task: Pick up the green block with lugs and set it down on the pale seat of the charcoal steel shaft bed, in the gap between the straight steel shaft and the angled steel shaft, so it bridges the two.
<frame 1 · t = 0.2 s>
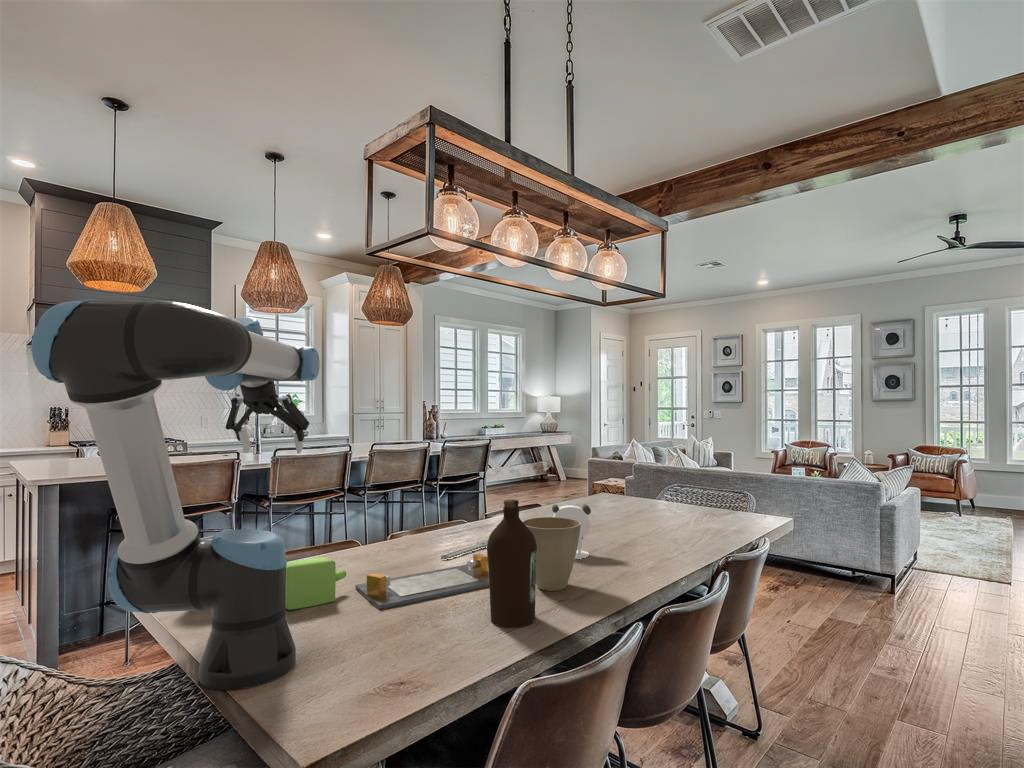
hand: (274, 450, 144), 35 cm above the table, tool tilted 35°, fingers open, 13 cm apart
plant pot: (552, 587, 138), on the table
olive oil: (513, 620, 117), on the table
panda figurine: (571, 555, 168), on the table
shaft bed: (430, 586, 140), on the table
disposable coffee cup: (214, 600, 132), on the table
adjustable wrench: (469, 552, 175), on the table
green block with lugs: (309, 601, 131), on the table
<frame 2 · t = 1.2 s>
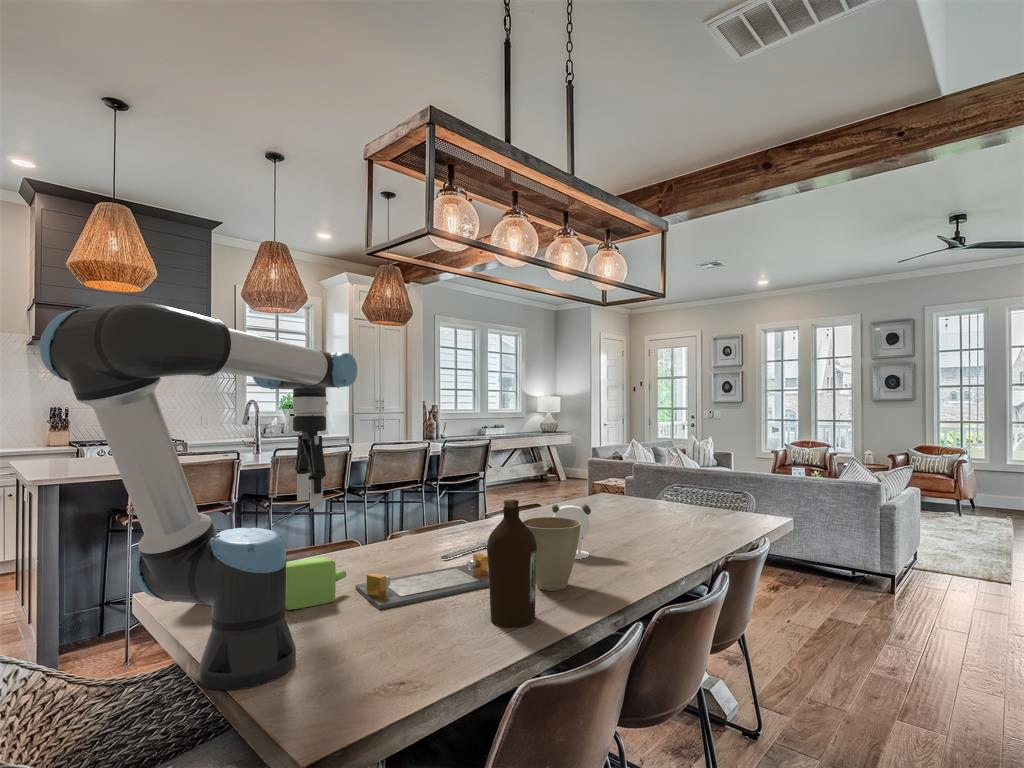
hand: (309, 504, 132), 23 cm above the table, tool pointing down, fingers open, 13 cm apart
nothing on the table moved.
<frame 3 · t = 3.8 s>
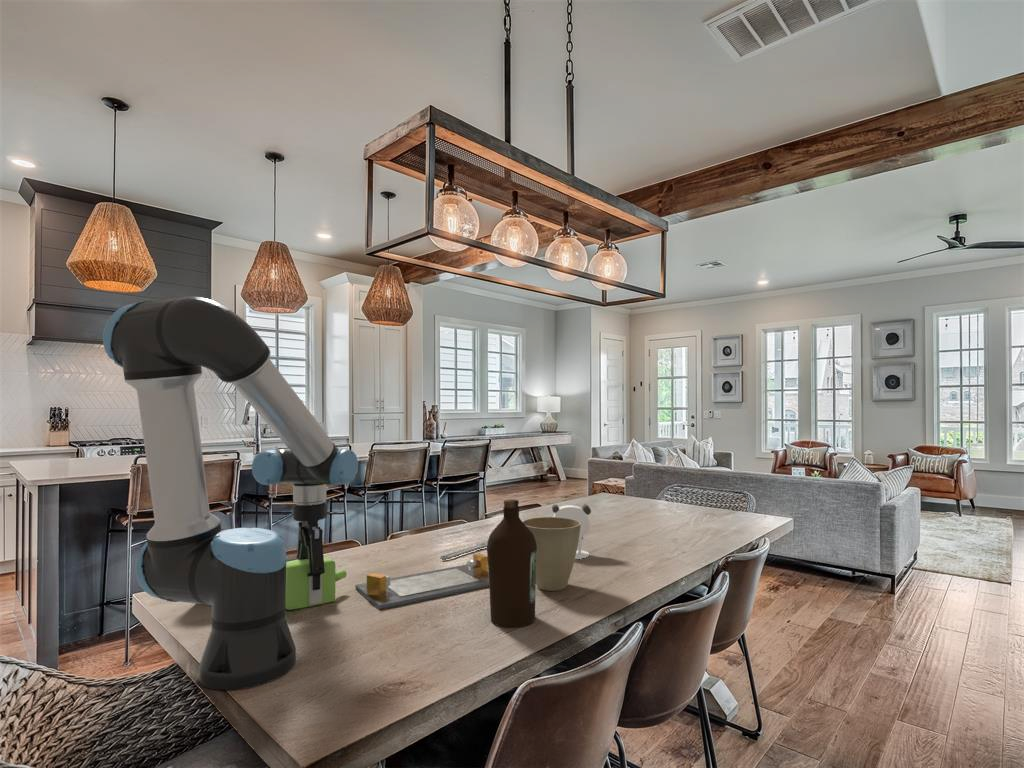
hand: (309, 596, 131), 1 cm above the table, tool pointing down, fingers closed on green block with lugs, 10 cm apart
green block with lugs: (309, 601, 131), on the table, touching gripper
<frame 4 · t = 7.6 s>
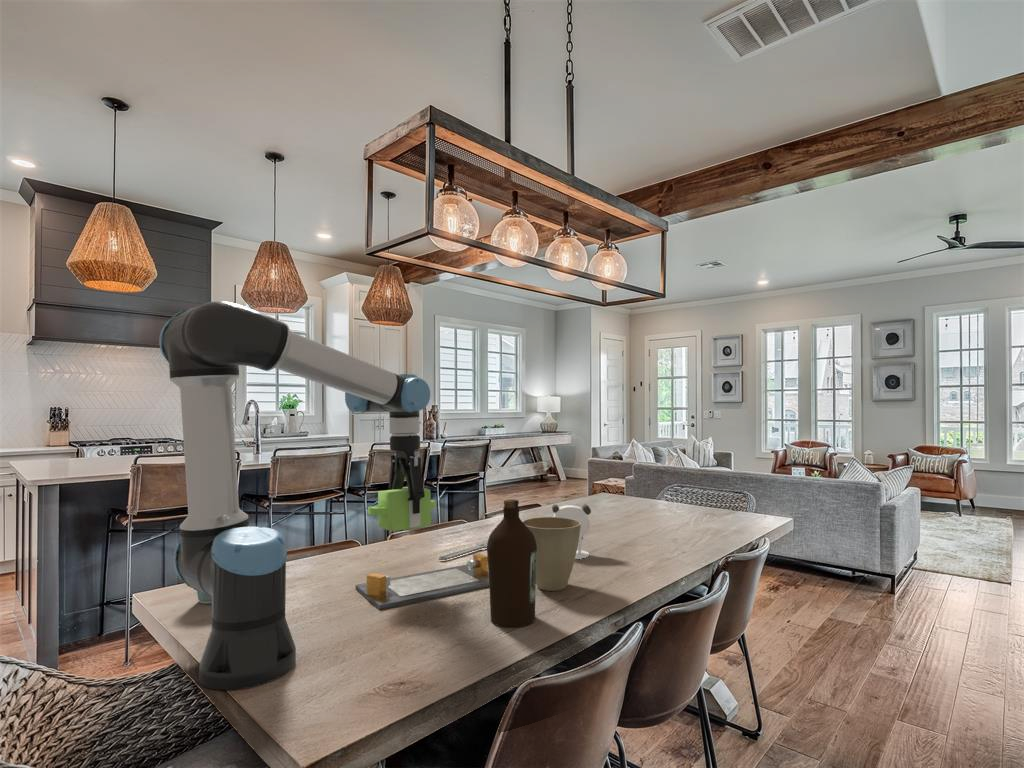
hand: (406, 523, 139), 16 cm above the table, tool pointing down, fingers closed on green block with lugs, 10 cm apart
green block with lugs: (406, 527, 139), point 15 cm above the table, touching gripper
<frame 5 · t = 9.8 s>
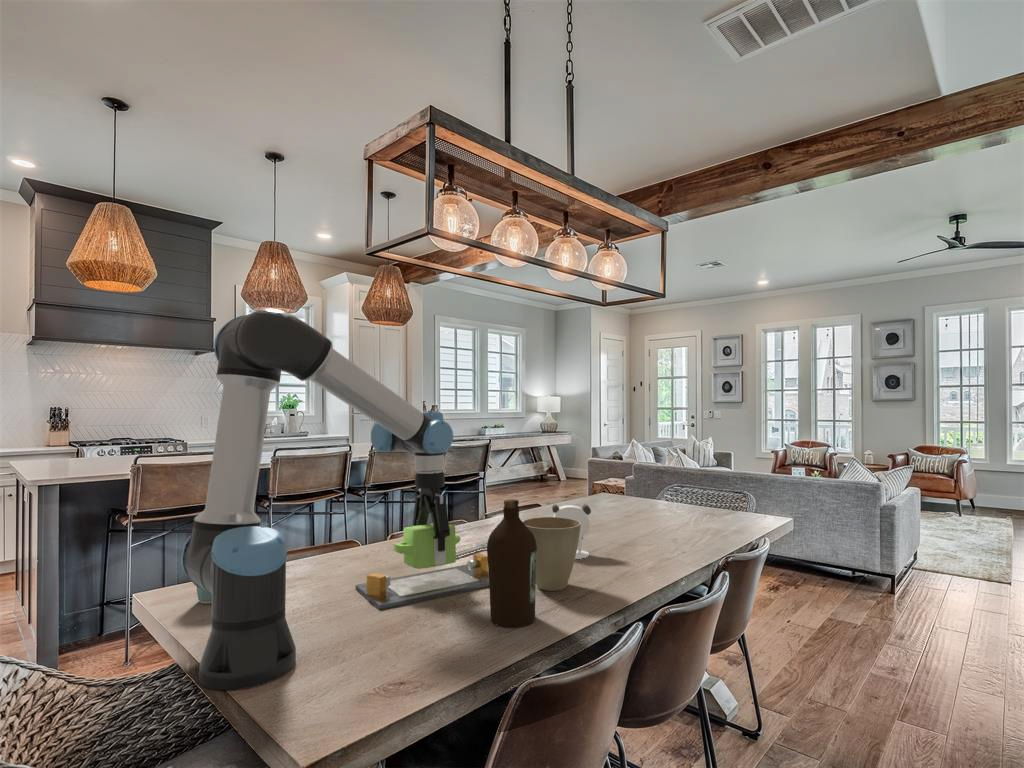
hand: (430, 559, 140), 7 cm above the table, tool pointing down, fingers closed on green block with lugs, 10 cm apart
green block with lugs: (431, 563, 140), point 6 cm above the table, touching gripper
when the fingers open (3 cm above the table, at t = 11.4 s): green block with lugs drops 1 cm, resting on shaft bed.
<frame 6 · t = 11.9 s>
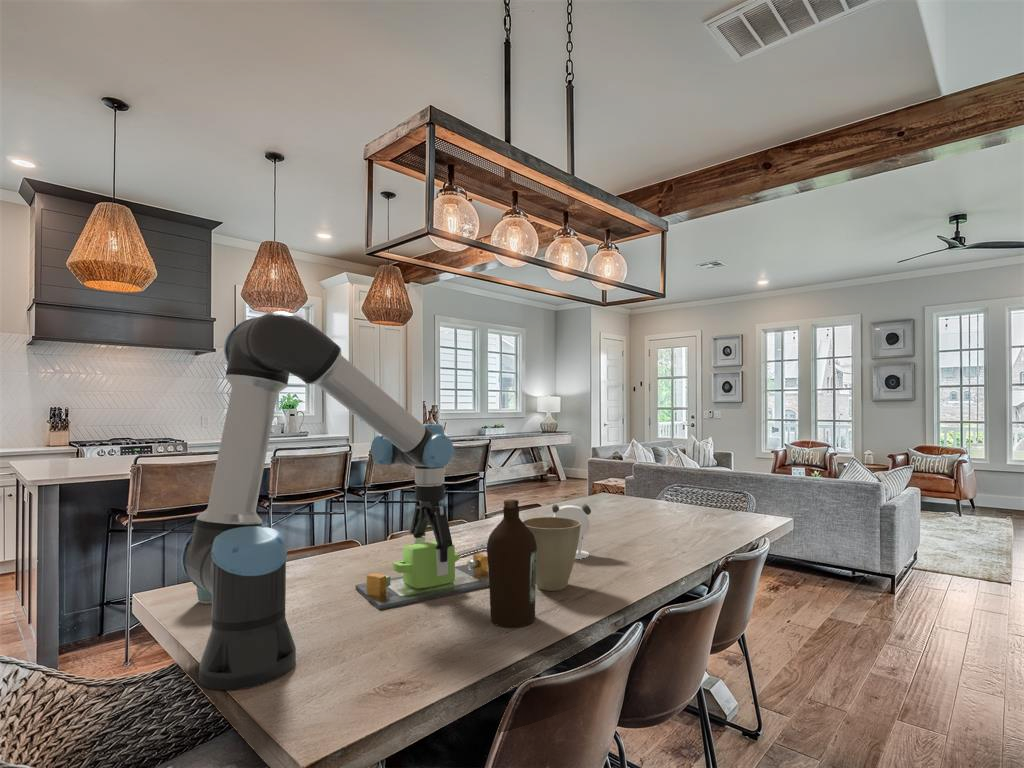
hand: (430, 568, 140), 4 cm above the table, tool pointing down, fingers open, 13 cm apart
green block with lugs: (430, 581, 140), point 1 cm above the table, touching shaft bed
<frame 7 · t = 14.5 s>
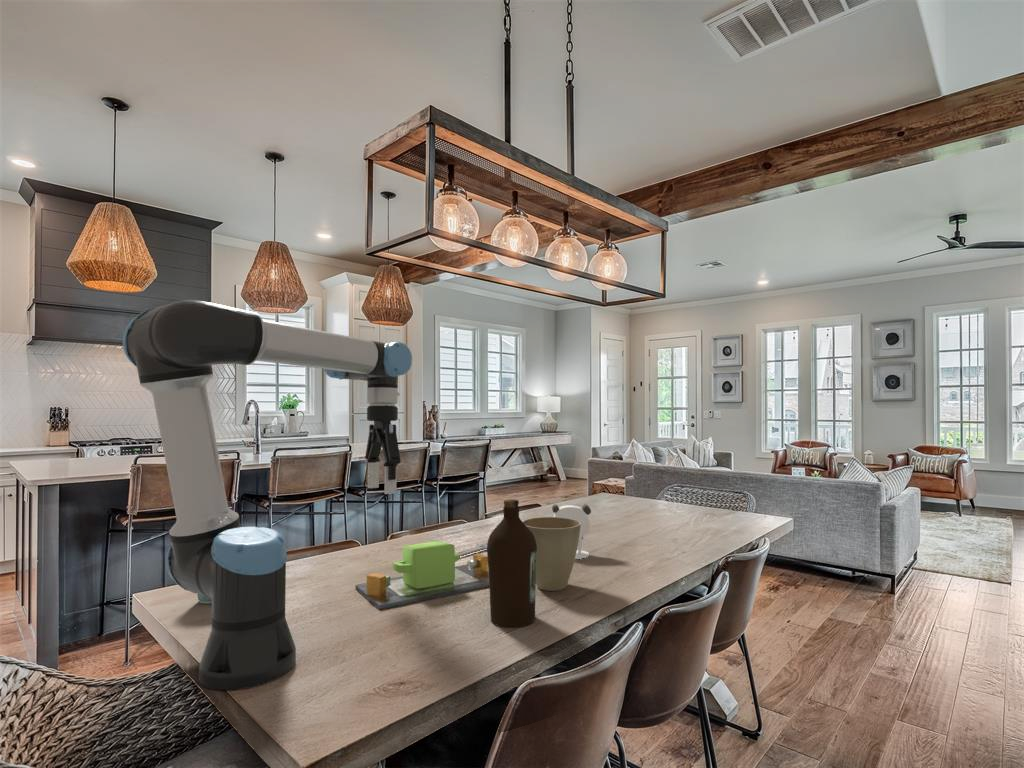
hand: (381, 490, 137), 25 cm above the table, tool pointing down, fingers open, 13 cm apart
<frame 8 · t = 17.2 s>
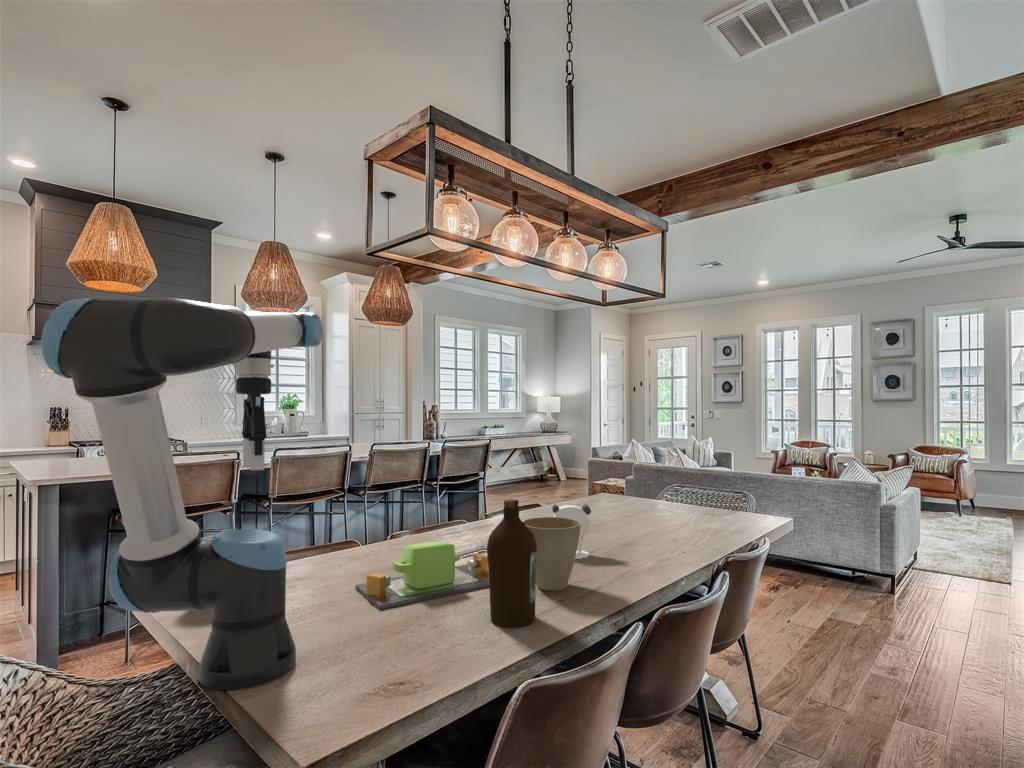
hand: (253, 467, 129), 32 cm above the table, tool pointing down, fingers open, 13 cm apart
at the end: green block with lugs 0.2 cm off-centre on the shaft bed, point 1.0 cm above the shaft bed's base; green block with lugs tilted 0°; the gripper is holding nothing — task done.
